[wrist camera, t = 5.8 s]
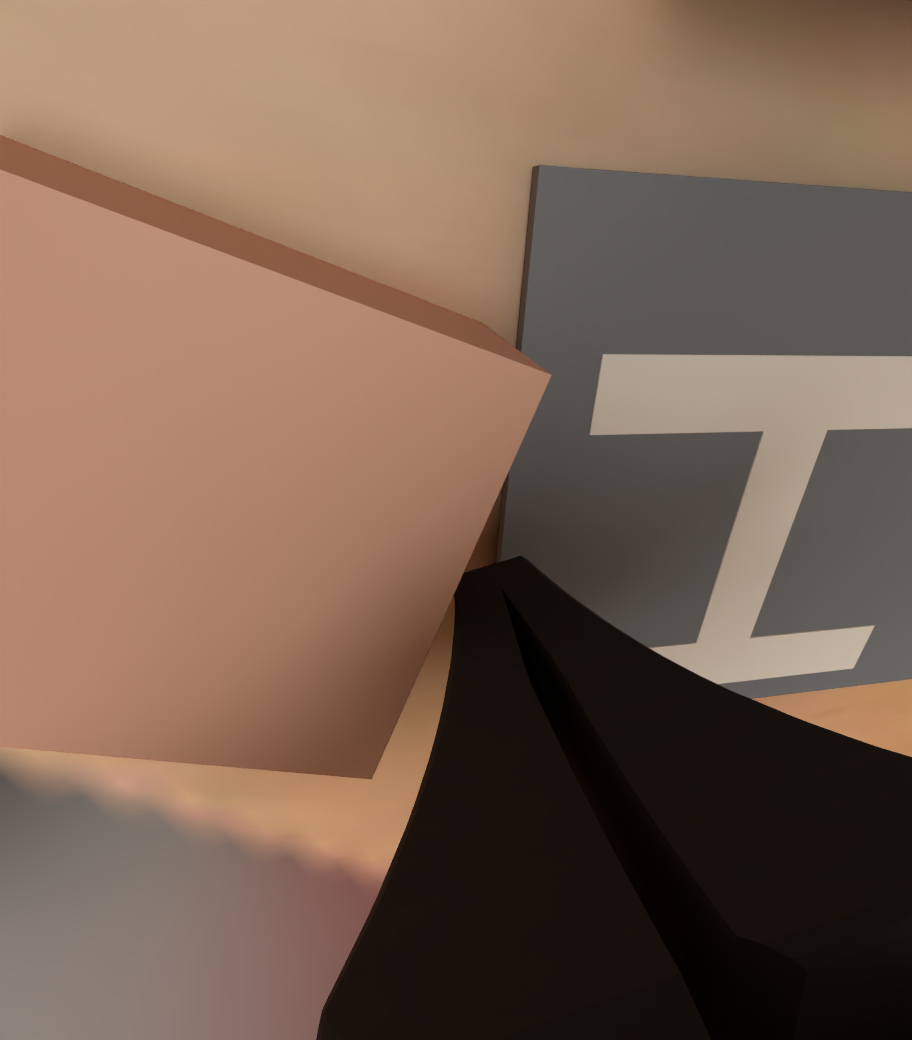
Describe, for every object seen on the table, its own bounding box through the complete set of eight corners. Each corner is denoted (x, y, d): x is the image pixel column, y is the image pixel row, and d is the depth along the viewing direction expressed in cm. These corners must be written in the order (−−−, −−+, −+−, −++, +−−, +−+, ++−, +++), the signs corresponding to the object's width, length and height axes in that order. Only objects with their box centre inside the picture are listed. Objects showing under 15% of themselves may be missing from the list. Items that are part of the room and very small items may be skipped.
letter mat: (1337, 225, 12) (1362, 225, 12) (1038, 655, 18) (1050, 663, 17) (533, 167, 9) (540, 165, 8) (481, 721, 14) (484, 732, 14)
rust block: (476, 319, 10) (551, 374, 7) (361, 625, 13) (371, 779, 9) (14, 138, 8) (-247, 77, 4) (-6, 559, 10) (-175, 731, 7)
